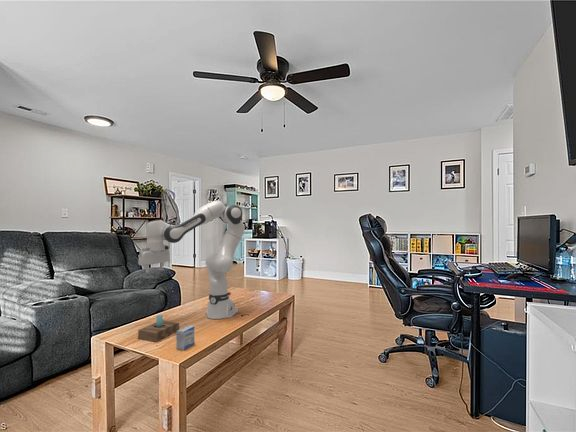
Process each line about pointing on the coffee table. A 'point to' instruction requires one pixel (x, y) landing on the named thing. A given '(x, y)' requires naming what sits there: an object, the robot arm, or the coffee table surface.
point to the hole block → (158, 331)
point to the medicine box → (185, 337)
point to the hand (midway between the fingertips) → (154, 271)
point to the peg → (159, 321)
